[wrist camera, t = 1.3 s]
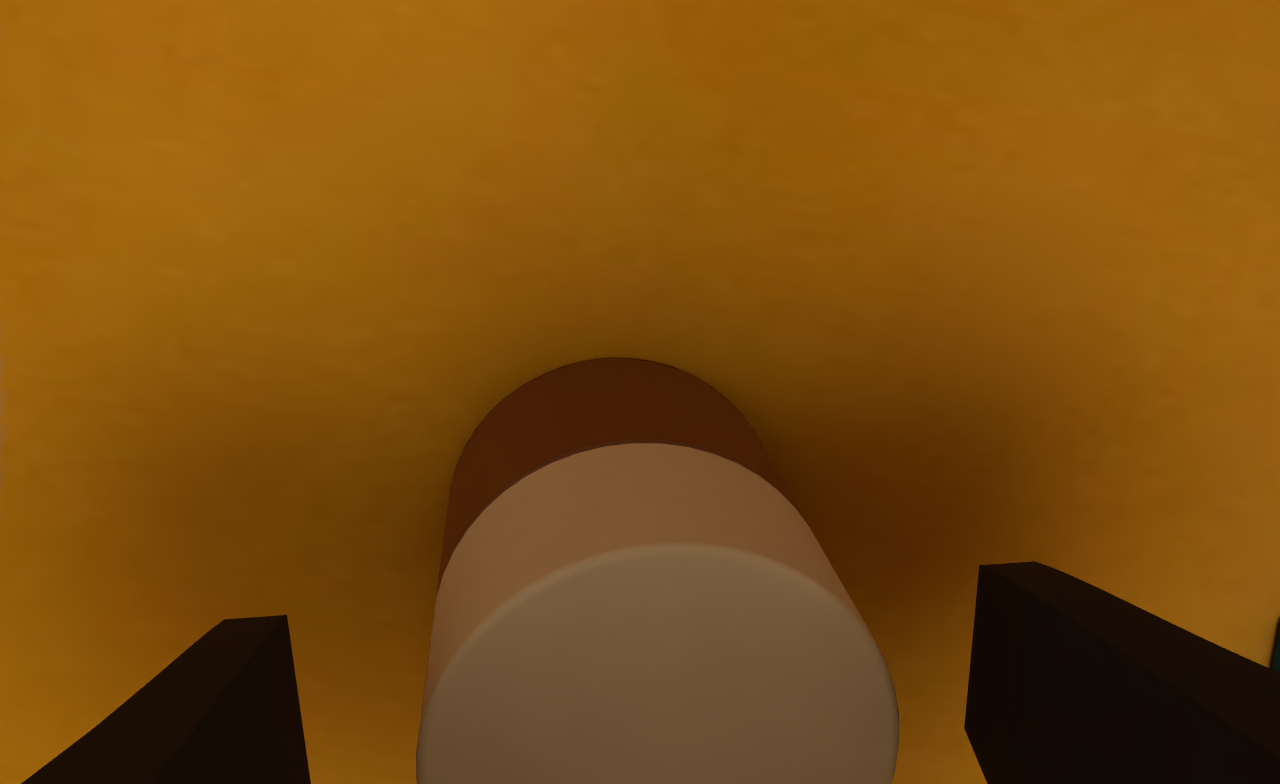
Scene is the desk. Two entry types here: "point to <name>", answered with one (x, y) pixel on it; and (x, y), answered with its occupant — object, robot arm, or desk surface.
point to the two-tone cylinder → (641, 602)
